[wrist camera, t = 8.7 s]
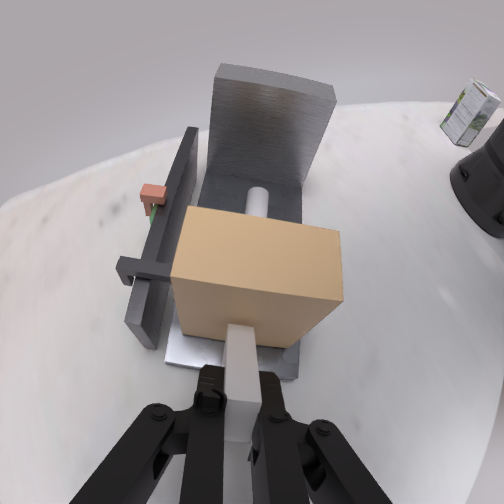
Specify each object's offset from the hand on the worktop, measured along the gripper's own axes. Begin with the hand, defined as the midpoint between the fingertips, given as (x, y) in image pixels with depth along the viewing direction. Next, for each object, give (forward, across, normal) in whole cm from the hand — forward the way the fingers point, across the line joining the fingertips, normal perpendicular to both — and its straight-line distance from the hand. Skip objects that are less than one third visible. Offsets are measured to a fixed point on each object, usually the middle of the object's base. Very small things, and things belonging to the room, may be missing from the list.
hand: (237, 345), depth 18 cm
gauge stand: (+12, -1, +3) cm, 12 cm away
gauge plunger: (+8, -2, +1) cm, 8 cm away
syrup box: (+37, +41, +28) cm, 62 cm away
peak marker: (+7, -7, +6) cm, 12 cm away
